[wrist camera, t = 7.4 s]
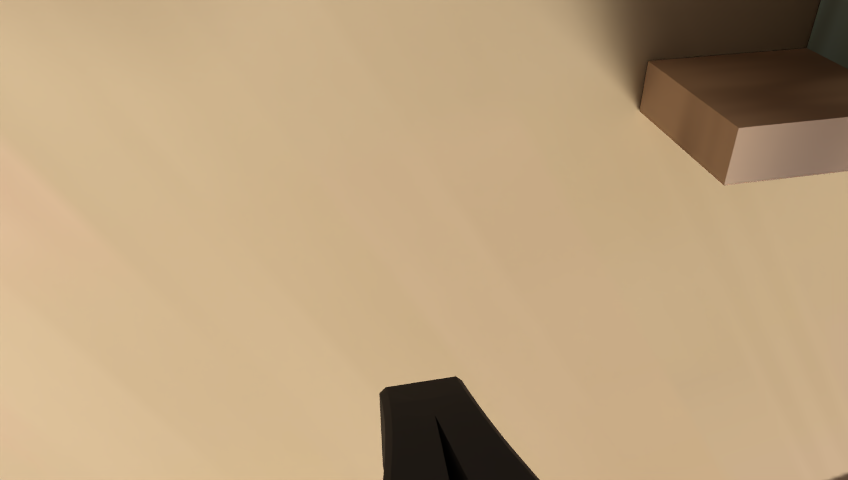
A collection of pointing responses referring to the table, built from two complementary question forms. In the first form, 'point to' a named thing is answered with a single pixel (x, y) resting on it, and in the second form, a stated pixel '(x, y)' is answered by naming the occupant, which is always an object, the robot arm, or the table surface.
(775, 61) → the dock
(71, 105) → the table surface
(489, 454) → the robot arm
